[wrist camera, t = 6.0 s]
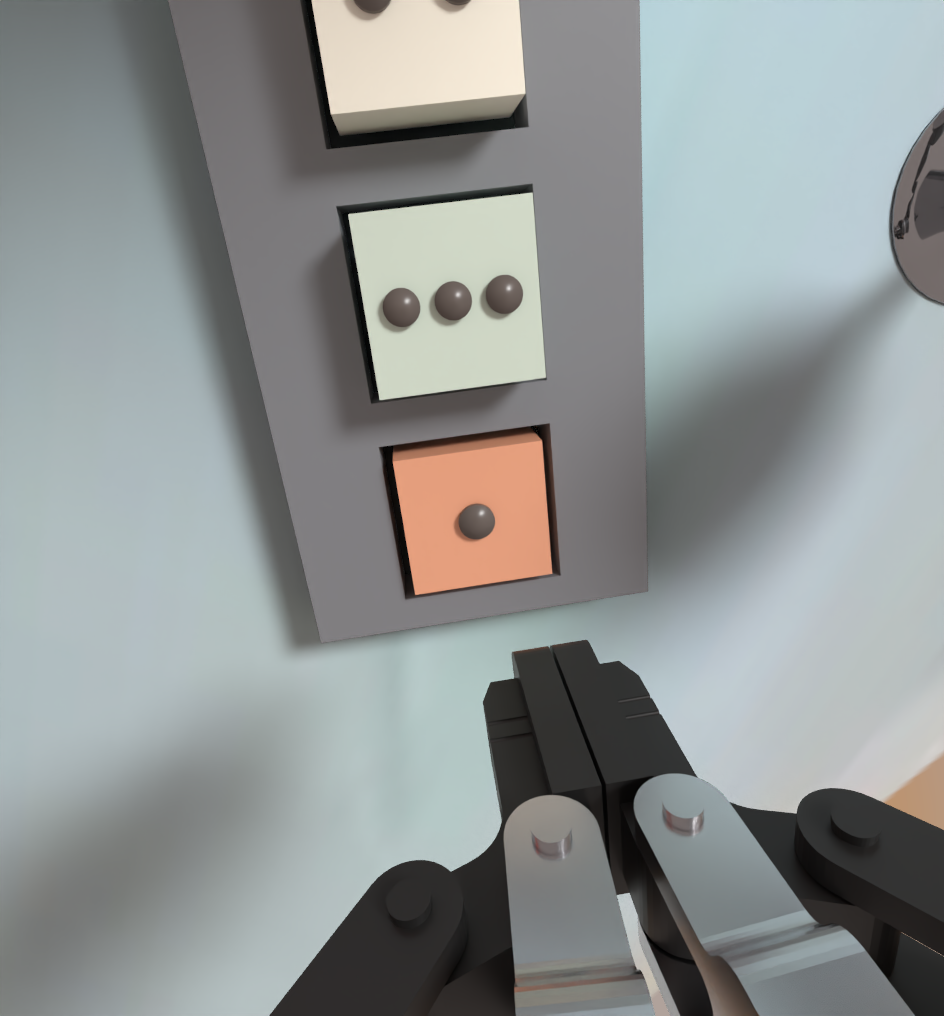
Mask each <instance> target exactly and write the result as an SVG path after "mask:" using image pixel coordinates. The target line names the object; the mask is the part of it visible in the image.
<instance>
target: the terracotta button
mask: <svg viewBox="0 0 944 1016" xmlns="http://www.w3.org/2000/svg"><path fill="white" fill-rule="evenodd" d="M393 466H394V472H395V478H396V484H397V490H398V496H399V502H400V508H401V514H402V519H403V525H404V531H405V537H406V543H407V549H408V555H409V561H410V567H411V573H412V579H413V585H414V591H415V595H419V594H425V593H431V592H438V591H444V590H451V589H457V588H464V587H470V586H477V585H483V584H489V583H496V582H502V581H509V580H515V579H522V578H528V577H535V576H541V575H548V574H552V564H551V551H550V538H549V525H548V512H547V499H546V486H545V472H544V459H543V446H542V440H541V439H540V438H539V436H538V435H537V434H536V433H535V432H534V431H533V430H532V428H531V427H530V426H526V427H519V428H512V429H505V430H497V431H490V432H483V433H476V434H469V435H462V436H455V437H448V438H440V439H433V440H426V441H419V442H412V443H405V444H398V445H393Z"/></svg>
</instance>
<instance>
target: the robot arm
mask: <svg viewBox="0 0 944 1016" xmlns="http://www.w3.org/2000/svg"><path fill="white" fill-rule="evenodd" d="M512 662H513V671H514V679H508V680H502V681H496V682H491V683H490V685H489V688H488V690H487V693H486V695H485V698H484V701H483V705H484V712H485V719H486V726H487V733H488V740H489V747H490V754H491V761H492V767H493V773H494V778H495V784H496V790H497V796H498V801H499V807H500V813H501V819H502V823H501V827H500V830H499V832H498V834H497V837H496V838H495V840H494V841H493V843H492V844H491V845H490V846H489V848H488V849H487V850H486V851H485V852H484V853H482V854H481V855H480V856H479V857H477V858H476V859H474V860H472V861H471V862H469V863H467V864H465V865H463V866H461V867H459V868H457V869H456V870H454V871H452V872H450V871H449V870H448V869H447V868H445V867H443V866H442V865H440V864H437V863H435V862H431V861H426V860H415V861H408V862H405V863H401V864H399V865H397V866H394V867H392V868H391V869H389V870H387V871H386V872H384V873H383V874H382V875H381V876H380V877H378V878H377V879H376V881H375V882H374V883H373V884H372V885H371V886H370V887H369V889H368V890H367V891H366V893H365V894H364V895H363V896H362V898H361V899H360V900H359V902H358V903H357V904H356V905H355V907H354V908H353V909H352V911H351V912H350V913H349V914H348V916H347V917H346V918H345V919H344V921H343V922H342V923H341V925H340V926H339V927H338V928H337V930H336V931H335V932H334V934H333V935H332V936H331V937H330V939H329V940H328V941H327V943H326V944H325V945H324V946H323V948H322V949H321V950H320V952H319V953H318V954H317V955H316V957H315V958H314V959H313V960H312V962H311V963H310V964H309V966H308V967H307V968H306V969H305V971H304V972H303V973H302V975H301V976H300V977H299V978H298V980H297V981H296V982H295V984H294V985H293V986H292V987H291V989H290V990H289V991H288V992H287V994H286V995H285V996H284V998H283V999H282V1000H281V1001H280V1003H279V1004H278V1005H277V1007H276V1008H275V1009H274V1010H273V1012H272V1013H271V1014H270V1016H655V1012H654V1008H653V1005H652V1001H651V997H650V994H649V990H648V987H647V984H646V981H645V978H644V976H643V974H642V972H641V970H637V969H636V966H635V964H634V960H633V957H632V953H631V949H630V946H629V942H628V938H627V934H626V930H625V926H624V922H623V918H622V914H621V910H620V906H619V902H618V899H617V895H619V894H625V893H630V895H631V898H632V900H633V903H634V906H635V909H636V912H637V914H638V935H639V941H640V944H641V947H642V950H643V952H644V954H645V957H646V959H647V962H648V964H649V966H650V969H651V971H652V973H653V976H654V978H655V980H656V983H657V985H658V987H659V990H660V992H661V994H662V996H663V999H664V1002H665V1004H666V1006H667V1008H668V1011H669V1013H670V1015H671V1016H944V957H943V956H944V830H942V829H940V828H938V827H936V826H933V825H931V824H929V823H927V822H925V821H922V820H920V819H918V818H916V817H914V816H911V815H909V814H907V813H905V812H902V811H900V810H898V809H896V808H894V807H892V806H889V805H887V804H885V803H883V802H881V801H878V800H876V799H874V798H872V797H869V796H867V795H864V794H862V793H858V792H855V791H851V790H846V789H837V788H829V789H821V790H817V791H814V792H812V793H810V794H808V795H807V796H805V797H804V798H803V799H802V801H801V802H800V804H799V806H798V809H797V814H794V813H785V812H775V811H766V810H757V809H751V808H746V807H742V806H739V805H736V804H733V803H731V802H729V801H728V800H727V798H726V797H725V796H724V795H723V794H722V793H721V792H720V791H719V790H718V789H717V788H716V787H714V786H713V785H711V784H710V783H708V782H706V781H704V780H702V779H700V778H698V777H697V776H696V774H695V773H694V771H693V769H692V768H691V766H690V764H689V762H688V761H687V759H686V757H685V755H684V754H683V752H682V750H681V748H680V747H679V745H678V743H677V741H676V740H675V738H674V736H673V734H672V733H671V731H670V729H669V727H668V726H667V724H666V722H665V720H664V719H663V717H662V715H661V714H659V710H658V708H657V707H656V705H655V703H654V701H653V700H652V698H650V694H649V693H648V691H647V689H646V687H645V686H644V684H643V682H642V680H641V679H640V677H639V675H637V674H636V673H635V672H633V671H632V670H630V669H629V668H628V667H626V666H625V665H624V664H622V663H621V662H620V661H616V662H610V663H604V664H599V662H598V660H597V658H596V656H595V653H594V651H593V649H592V647H591V645H590V643H589V642H588V640H582V641H576V642H570V643H564V644H558V645H552V646H550V648H549V647H548V646H546V647H540V648H534V649H528V650H522V651H516V652H512ZM901 932H903V933H904V934H903V933H901ZM905 934H906V935H905ZM907 935H908V936H910V937H911V938H910V937H908V936H907ZM912 938H913V939H912ZM914 939H915V940H917V941H919V942H920V943H919V942H917V941H915V940H914ZM921 943H922V944H924V945H926V946H927V947H926V946H924V945H922V944H921ZM928 947H929V948H931V949H933V950H935V951H936V952H938V953H940V954H941V955H940V954H938V953H936V952H935V951H933V950H931V949H929V948H928ZM942 955H943V956H942Z"/></svg>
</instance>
